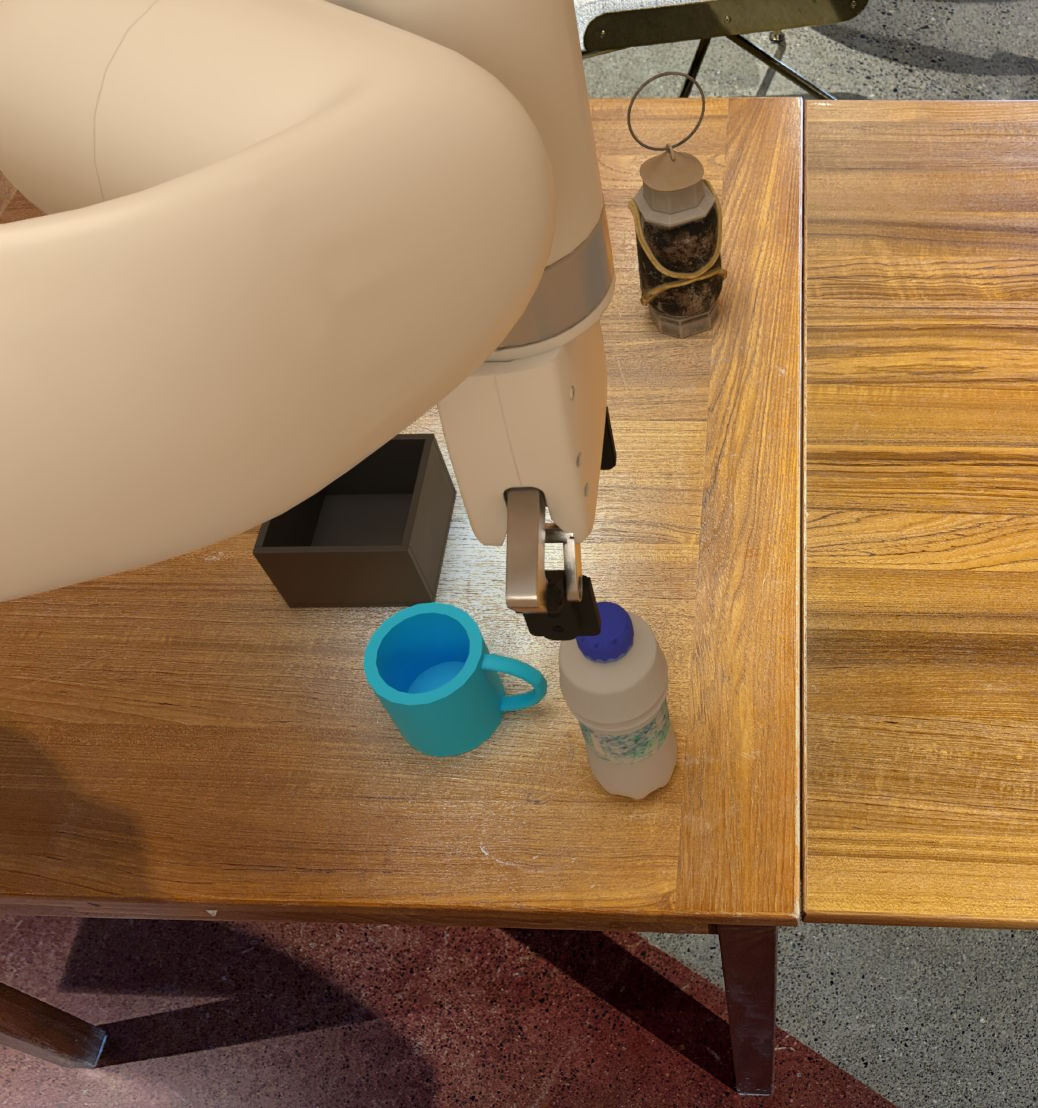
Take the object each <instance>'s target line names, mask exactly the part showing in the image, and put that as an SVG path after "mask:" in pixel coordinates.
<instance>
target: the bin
mask: <svg viewBox="0 0 1038 1108" xmlns="http://www.w3.org/2000/svg"><path fill="white" fill-rule="evenodd" d="M456 496H457V490H456V488H455V484H454V481H453V479H452V477H451V474H450V471H449V468H448V466H447V464H446V461H445V459H444V456H443V453H442V451H441V448H440V446H439V443H438V440H437V438H436V435H435V433H432V432H431V433H399V434H398V435H396V436H395V437H393V438H392V439H391V440H389V441H388V442H387V443H385V444H384V445H383V446H381V447H380V448H379V449H377V450H376V451H375V452H373V453H372V454H371V455H369V456H368V457H366V458H365V459H364V460H362V461H361V462H360V463H358V464H357V465H356V466H354V467H353V468H352V469H350V470H349V471H347V472H346V473H345V474H343V475H342V476H340V477H339V478H337V479H336V480H334V481H333V482H331V483H330V484H329V485H327V486H326V487H324V488H323V489H322V490H320V491H319V492H318V493H316V494H314V495H313V496H311V497H309V498H308V499H306V500H304V501H303V502H301V503H299V504H298V505H296V506H294V507H293V508H291V509H289V510H288V511H286V512H284V513H283V514H281V515H279V516H277V517H275V518H273V519H271V520H268V521H266V522H264V523H262V524H260V527H259V531H258V533H257V537H256V540H255V543H254V547H253V549H252V555H253V557H254V558H255V559H256V561H257V562H258V564H259V565H260V566H261V569H262V570H263V571H264V573H265V574H266V575H267V577H268V578H269V580H270V581H271V583H272V584H273V586H274V588H276V590H277V591H278V593H279V594H280V596H281V597H282V598H283V600H284V602H285V603H286V605H287V607H289V608H290V609H291V608H293V609H294V608H296V609H297V608H373V607H374V608H375V607H376V608H378V607H379V608H380V607H381V608H383V607H385V608H386V607H411V606H414V605H417V604H424V603H434V602H436V597H437V592H438V587H439V582H440V577H441V573H442V572H441V571H442V567H443V561H444V557H445V552H446V548H447V541H448V537H449V533H450V527H451V522H452V517H453V512H454V508H455V507H454V506H455V501H456Z"/></svg>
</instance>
